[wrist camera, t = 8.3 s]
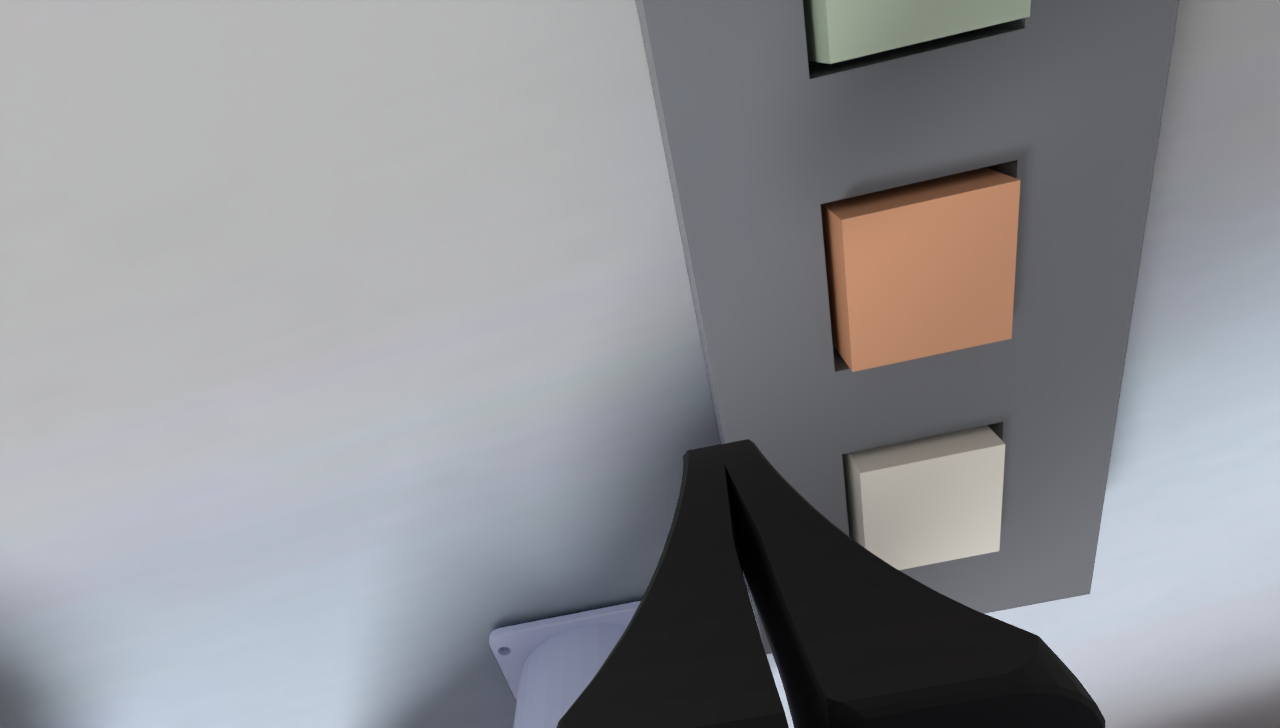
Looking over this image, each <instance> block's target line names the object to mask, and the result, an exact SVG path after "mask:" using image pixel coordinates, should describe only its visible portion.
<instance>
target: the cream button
mask: <svg viewBox="0 0 1280 728" xmlns="http://www.w3.org/2000/svg"><path fill="white" fill-rule="evenodd" d="M842 459H843V470H844V482H845V493H846V505H847V516H848V528H849V537H850V538H852V539H853V540H854V541H856V542H857V543H859V544H860V545H861V546H863V547H864V548H866V549H867V550H868V551H870V552H871V553H873V554H874V555H876V556H877V557H879V558H880V559H882V560H883V561H885V562H886V563H888V564H890V565H891V566H893V567H894V568H896V569H898V570H903V569H908V568H914V567H919V566H924V565H929V564H934V563H940V562H945V561H950V560H955V559H961V558H966V557H971V556H976V555H981V554H987V553H992V552H997V551H999V548H1000V531H1001V513H1002V496H1003V478H1004V461H1005V443H1004V442H1003V441H1002V440H1001V439H1000V438H999V437H998V436H997V435H996V434H995V433H994V432H993V431H992V430H991V429H990V428H989V427H988V425H985V426H980V427H975V428H970V429H965V430H960V431H955V432H950V433H945V434H940V435H935V436H930V437H925V438H921V439H916V440H911V441H906V442H901V443H896V444H891V445H886V446H881V447H876V448H871V449H866V450H861V451H857V452H852V453H847V454H842Z"/></svg>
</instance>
